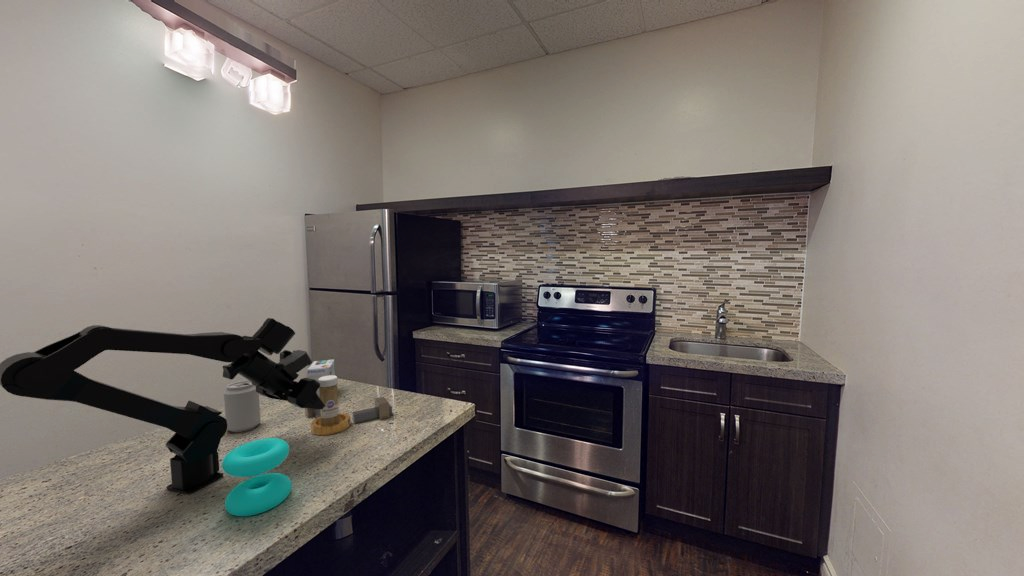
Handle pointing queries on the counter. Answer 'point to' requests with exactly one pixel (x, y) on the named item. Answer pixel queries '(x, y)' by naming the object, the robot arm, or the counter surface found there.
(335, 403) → the sprinkles bottle
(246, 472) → the donuts
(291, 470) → the counter surface
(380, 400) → the coupling jig
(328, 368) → the light bulb box
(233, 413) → the can
